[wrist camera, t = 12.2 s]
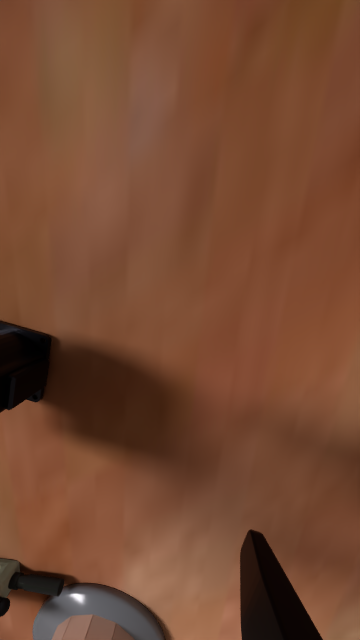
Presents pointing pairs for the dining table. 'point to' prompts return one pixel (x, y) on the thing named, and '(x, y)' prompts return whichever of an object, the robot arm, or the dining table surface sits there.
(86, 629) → the holder
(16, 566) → the handheld radio
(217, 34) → the dining table surface
